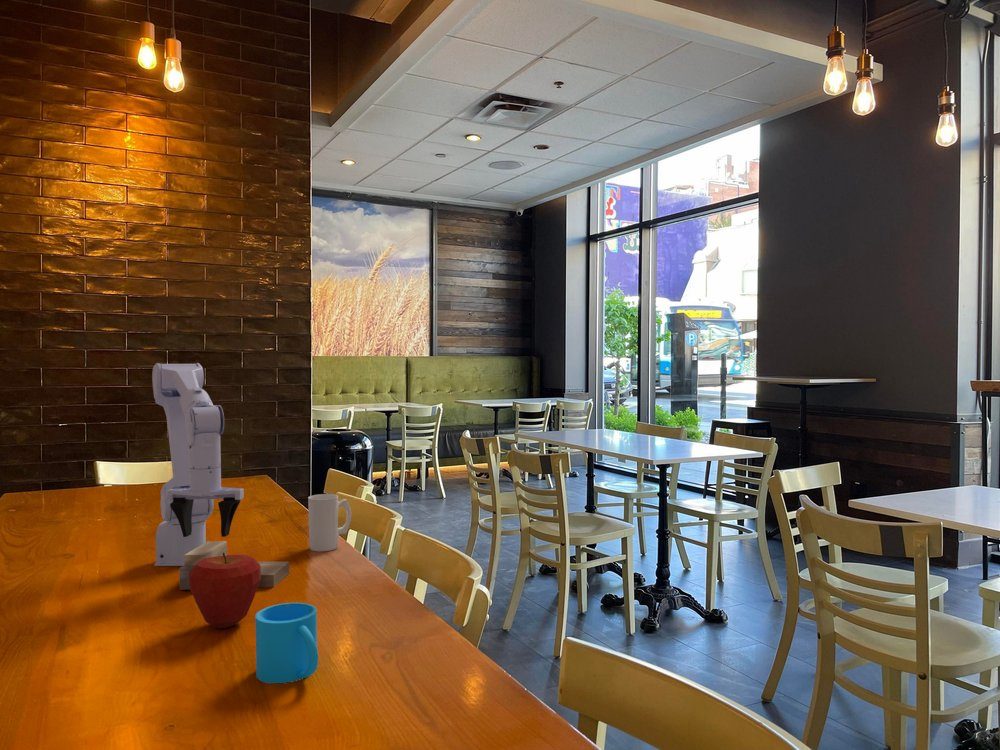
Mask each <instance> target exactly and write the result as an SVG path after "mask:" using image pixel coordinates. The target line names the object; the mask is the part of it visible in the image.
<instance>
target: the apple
mask: <svg viewBox="0 0 1000 750" xmlns="http://www.w3.org/2000/svg"><path fill="white" fill-rule="evenodd" d="M258 562H259V561H257V560H256V559H255V558H254V557H252V556H251V555H247V554H227V555H225V554H224V553H223V556H216V557H210V558H204V559H202V560H201V561H199V562H198V563H197V564H196V565H195V566H194V567H193V569H192V570H191V571H190V573H189V587H190V589H191V590H190V592H191V595H192V596H193V599H194V601H195V604H196V605H197V607H198V609H199V612H200V613H201V615H202V618H203V619H204V621H205V622H206V623H207V624H209V625H210V626H212V627H213V628H215V629H225V628H229V627H233V626H235V625H237V624H238V623H241V621H243V619H244V618H246V617H247V615H248V612H249V610H250V608H251V605H252V604H253V601H254V598H255V596H256V593H257V590H258V588H259V587H258V584H259V581H260V578H261V568H260V564H259V563H258Z"/></svg>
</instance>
